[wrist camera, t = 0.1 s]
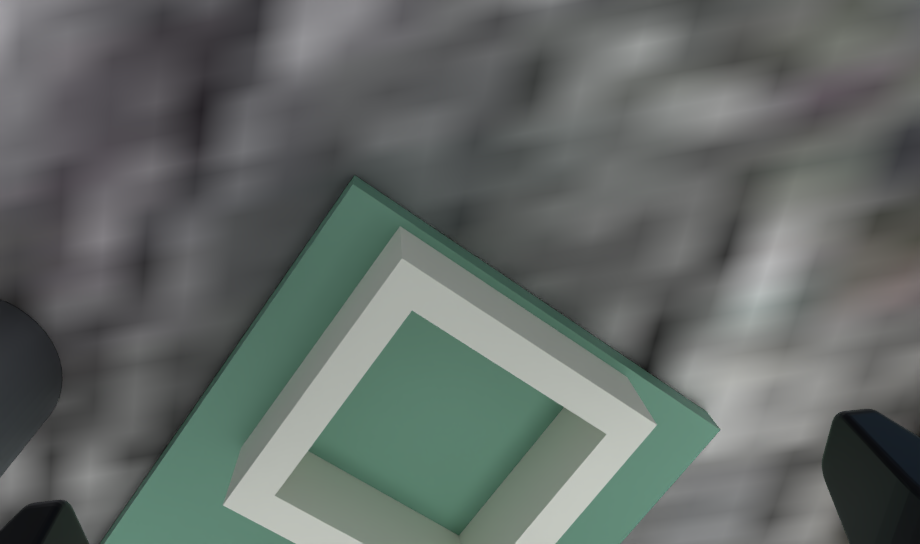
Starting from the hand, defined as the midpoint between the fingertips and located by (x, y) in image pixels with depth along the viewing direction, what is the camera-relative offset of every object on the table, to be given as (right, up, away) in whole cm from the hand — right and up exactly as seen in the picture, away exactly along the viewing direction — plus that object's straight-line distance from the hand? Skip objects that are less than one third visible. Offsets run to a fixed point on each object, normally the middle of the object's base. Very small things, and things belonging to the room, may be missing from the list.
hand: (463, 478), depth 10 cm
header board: (-2, -5, +18) cm, 18 cm away
